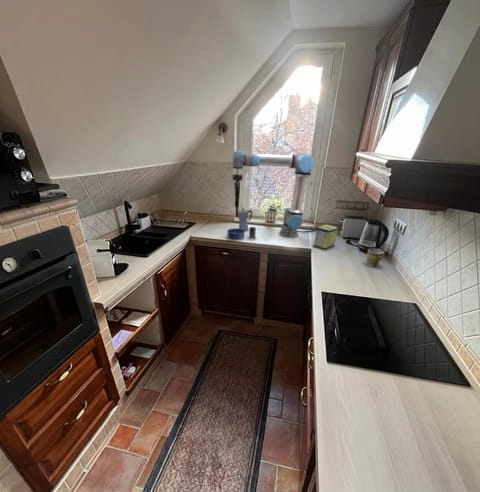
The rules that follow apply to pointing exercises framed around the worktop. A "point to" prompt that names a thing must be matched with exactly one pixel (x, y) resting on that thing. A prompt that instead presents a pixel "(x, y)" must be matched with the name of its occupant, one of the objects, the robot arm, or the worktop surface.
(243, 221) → the moka pot
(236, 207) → the cooking stick
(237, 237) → the bowl
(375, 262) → the ceramic cup
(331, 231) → the protein box
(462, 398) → the worktop surface
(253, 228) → the crock
